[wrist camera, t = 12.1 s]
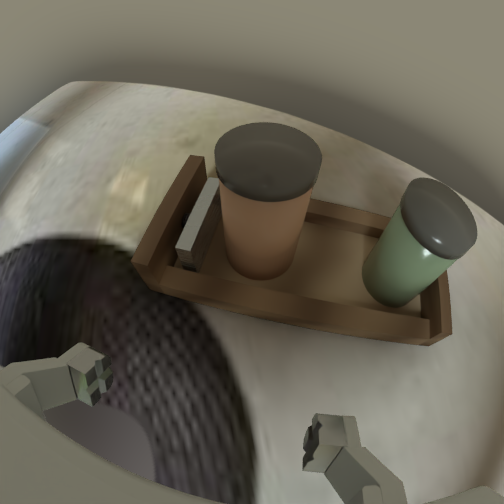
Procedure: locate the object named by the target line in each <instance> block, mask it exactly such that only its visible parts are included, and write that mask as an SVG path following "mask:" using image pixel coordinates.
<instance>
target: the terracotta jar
mask: <svg viewBox="0 0 504 504" xmlns="http://www.w3.org/2000/svg"><path fill="white" fill-rule="evenodd" d="M214 154H215V165H216V172H217V175H218V178H219V186H220V197H221V207H222V217H223V227H224V236H225V246H226V254H227V259H228V261H229V263H230V265H231V266H232V268H233V269H234V270H235V271H236V272H237V273H239V274H240V275H242V276H244V277H246V278H248V279H252V280H259V281H264V280H270V279H274V278H276V277H279V276H280V275H282V274H283V273H285V272H286V271H287V270H288V269H289V267H290V266H291V264H292V262H293V259H294V255H295V252H296V248H297V245H298V241H299V238H300V234H301V230H302V227H303V223H304V219H305V216H306V212H307V208H308V204H309V201H310V197H311V193H312V189H313V186H314V184H315V183H316V180H317V177H318V174H319V170H320V166H321V161H322V155H321V151H320V149H319V147H318V145H317V144H316V143H315V142H314V140H313V139H311V138H310V137H309V136H308V135H306V134H305V133H303V132H301V131H299V130H297V129H295V128H292V127H289V126H286V125H282V124H277V123H251V124H246V125H242V126H239V127H236V128H234V129H232V130H230V131H228V132H227V133H225V134H224V135H223V136H222V137H221V138H220V139H219V140H218V142H217V144H216V146H215V151H214Z"/></svg>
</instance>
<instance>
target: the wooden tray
mask: <svg viewBox="0 0 504 504" xmlns="http://www.w3.org/2000/svg"><path fill="white" fill-rule="evenodd" d="M206 182H207V175H206V167H205V159H204V157H202V156H194V155H190V156H189V158H188V159H187V161H186V162H185V164H184V166H183V167H182V169H181V170H180V172H179V174H178V175H177V177H176V179H175V180H174V182H173V184H172V185H171V187H170V189H169V190H168V192H167V194H166V196H165V197H164V199H163V201H162V203H161V204H160V206H159V208H158V210H157V211H156V213H155V215H154V217H153V219H152V221H151V222H150V224H149V226H148V228H147V230H146V232H145V234H144V236H143V238H142V240H141V242H140V244H139V245H138V247H137V249H136V251H135V253H134V256H133V258H132V260H131V263H132V264H133V266H134V267H135V269H136V270H137V271H138V273H139V274H140V276H141V277H142V279H143V280H144V282H145V283H146V285H147V286H148V287H149V289H150V290H153V291H156V292H160V293H163V294H167V295H170V296H174V297H177V298H181V299H185V300H188V301H192V302H196V303H200V304H203V305H207V306H211V307H215V308H219V309H223V310H227V311H231V312H235V313H240V314H244V315H248V316H253V317H257V318H261V319H266V320H271V321H275V322H280V323H285V324H290V325H295V326H300V327H305V328H310V329H315V330H321V331H326V332H332V333H338V334H344V335H350V336H356V337H362V338H369V339H376V340H383V341H390V342H398V343H406V344H414V345H423V346H430V345H432V344H434V343H436V342H438V341H440V340H442V339H444V338H445V337H447V336H449V335H451V334H452V319H451V304H450V293H449V284H448V276H447V270H446V271H445V272H443V273H442V274H441V275H440V276H439V277H438V278H437V279H436V280H435V281H434V282H433V283H431V284H430V285H429V286H428V287H427V288H426V289H425V290H424V291H422V292H421V293H420V294H419V295H418V296H417V297H415V298H414V299H413V300H412V301H411V302H409V303H408V304H407V305H405V306H403V307H399V308H392V307H387V306H384V305H382V304H380V303H379V302H377V301H376V300H375V299H374V298H373V297H372V296H371V295H370V294H369V292H368V291H367V289H366V287H365V285H364V283H363V279H362V266H363V263H364V261H365V259H366V258H367V256H368V255H369V253H370V252H371V250H372V248H373V247H374V245H375V244H376V242H377V241H378V239H379V238H380V236H381V234H382V233H383V231H384V230H385V228H386V226H387V225H388V223H389V222H390V220H391V218H389V217H385V216H381V215H378V214H374V213H370V212H366V211H362V210H358V209H354V208H350V207H346V206H342V205H337V204H333V203H329V202H324V201H320V200H315V199H311V198H310V201H309V204H308V208H307V212H306V216H305V219H304V223H303V227H302V230H301V234H300V238H299V241H298V245H297V248H296V252H295V255H294V259H293V262H292V264H291V266H290V267H289V269H288V270H287V271H286V272H285V273H283V274H282V275H280V276H279V277H276V278H274V279H270V280H264V281H259V280H252V279H248V278H246V277H244V276H242V275H240V274H239V273H237V272H236V271H235V270H234V269H233V268H232V266H231V265H230V263H229V261H228V259H227V254H226V246H225V236H224V227H223V217H222V214H221V217H220V220H219V222H218V225H217V227H216V230H215V232H214V235H213V237H212V240H211V243H210V245H209V248H208V250H207V253H206V256H205V258H204V261H203V264H202V266H201V269H200V272H199V273H196V272H192V271H188V270H184V269H183V267H182V264H181V262H180V259H179V256H178V254H177V251H176V249H175V247H176V245H177V242H178V240H179V238H180V236H181V234H182V231H183V229H182V219H183V216H184V214H185V213H189V214H191V212H192V210H193V208H194V206H195V204H196V202H197V200H198V198H199V196H200V194H201V192H202V190H203V188H204V186H205V184H206Z"/></svg>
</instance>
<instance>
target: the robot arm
mask: <svg viewBox="0 0 504 504" xmlns="http://www.w3.org/2000/svg"><path fill="white" fill-rule="evenodd" d="M111 364H112V363H111V357H109V356H108V355H106V354H104V353H102V352H100V351H98V350H96V349H94V348H92V347H90V346H88V345H86V344H84V343H78V344H76V345H75V346H74V347H72V348H71V349H70V350H68V351H67V352H66V353H64V354H63V355H62V356H60V357H59V358H58V359H57V358H55V357H54V358H48V359H41V360H33V361H25V362H17V363H11V364H9V365H8V366H6V367H5V368H3V369H2V370H1V371H0V504H224V503H220V502H216V501H212V500H208V499H204V498H201V497H197V496H194V495H190V494H187V493H184V492H181V491H178V490H175V489H172V488H169V487H166V486H164V485H161V484H158V483H156V482H153V481H151V480H148V479H146V478H143V477H141V476H139V475H137V474H134V473H132V472H130V471H128V470H126V469H123V468H121V467H119V466H117V465H115V464H113V463H111V462H109V461H108V460H106V459H104V458H102V457H100V456H98V455H97V454H95V453H93V452H91V451H89V450H88V449H86V448H84V447H83V446H81V445H79V444H78V443H76V442H75V441H73V440H71V439H70V438H68V437H67V436H66V435H64V434H63V433H61V432H60V431H58V430H57V429H55V428H54V427H53V426H51V425H50V424H49V423H47V422H46V418H45V416H44V413H43V410H46V409H49V408H53V407H56V406H59V405H61V404H65V403H68V402H71V401H73V400H76V399H79V400H81V401H83V402H85V403H87V404H89V405H90V406H94V405H95V404H96V403H97V402H98V401H99V399H100V398H101V393H103V392H107V391H108V390H109V388H110V387H111V385H112V382H113V372H112V370H111V369H110V367H109V366H110V365H111ZM303 449H304V451H305V452H306V453H305V455H304V457H303V471H308V472H319V473H324V474H325V476H326V477H327V479H328V480H329V482H330V483H331V485H332V486H333V488H334V489H335V491H336V492H337V493H338V495H339V496H340V498H341V499H342V500H343V502H344V503H345V504H407V499H406V495H405V491H404V486H403V482H402V481H401V480H400V479H399V478H398V477H396V476H395V475H394V474H393V473H392V472H391V471H390V470H389V469H388V468H387V467H385V466H384V465H383V464H382V463H381V462H380V461H379V460H378V459H377V458H376V457H375V456H374V455H373V454H372V453H371V452H369V451H368V450H367V449H366V448H365V447H361V442H360V437H359V432H358V427H357V422H356V418H355V417H354V416H340V415H328V414H318V413H316V414H315V415H314V417H313V419H312V425H311V426H310V427H308V429H307V431H306V434H305V437H304V443H303ZM424 504H504V497H503V496H502V495H500V494H499V493H497V492H496V491H494V490H492V489H491V488H489V487H487V486H479V487H475V488H473V489H470V490H467V491H465V492H462V493H459V494H456V495H453V496H449V497H446V498H443V499H439V500H435V501H432V502H428V503H424Z"/></svg>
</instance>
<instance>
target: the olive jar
mask: <svg viewBox="0 0 504 504" xmlns="http://www.w3.org/2000/svg"><path fill="white" fill-rule="evenodd" d="M476 239H477V226H476V222H475V220H474V217H473V215H472V213H471V211H470V209H469V208H468V206H467V205H466V204H465V202H464V201H463V200H462V199H461V198H460V197H459V196H458V195H457V194H456V193H455V192H454V191H453V190H452V189H450V188H449V187H447V186H446V185H444V184H442V183H441V182H438V181H436V180H433V179H430V178H417V179H414V180H413V181H411V183H410V184H409V185H408V187H407V189H406V191H405V193H404V195H403V196H402V198H401V202H400V205H399V206H398V208H397V210H396V212H395V213H394V215H393V217H392V218H391V220H390V222H389V223H388V225H387V226H386V228H385V230H384V231H383V233H382V234H381V236H380V238H379V239H378V241H377V242H376V244H375V245H374V247H373V248H372V250H371V252H370V253H369V255H368V256H367V258H366V259H365V261H364V263H363V266H362V279H363V283H364V285H365V287H366V289H367V291H368V292H369V294H370V295H371V296H372V297H373V298H374V299H375V300H376V301H377V302H379V303H380V304H382V305H384V306H387V307H392V308H399V307H403V306H405V305H407V304H408V303H409V302H411V301H412V300H413V299H414V298H415V297H417V296H418V295H419V294H420V293H421V292H422V291H424V290H425V289H426V288H427V287H428V286H429V285H430V284H431V283H433V282H434V281H435V280H436V279H437V278H438V277H439V276H440V275H441V274H442V273H443V272H445V271H446V270H447V269H448V268H449V267H450V266H451V265H452V264H453V263H454V262H455V261H456V260H457V259H459V258H461V257H462V256H463V255H464V254H465V253H466V252H467V251H468V250H469V249H470V248H471V247H472V246H473V245H474V244H475V242H476Z"/></svg>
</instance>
